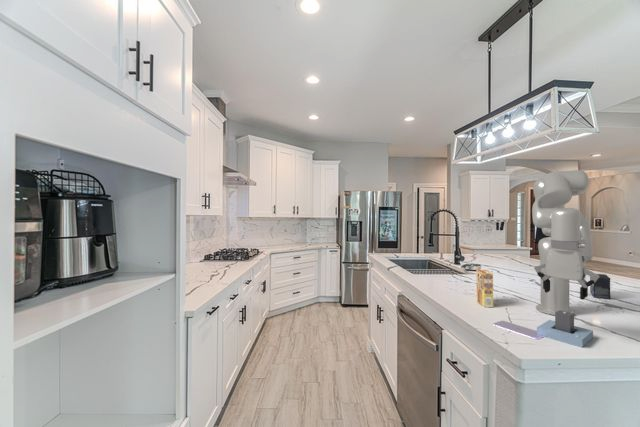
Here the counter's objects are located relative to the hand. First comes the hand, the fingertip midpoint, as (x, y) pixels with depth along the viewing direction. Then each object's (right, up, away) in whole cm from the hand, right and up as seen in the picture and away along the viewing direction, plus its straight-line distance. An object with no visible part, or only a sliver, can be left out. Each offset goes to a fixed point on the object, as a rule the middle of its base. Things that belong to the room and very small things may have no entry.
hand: (564, 295), depth 100 cm
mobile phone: (-13, -14, +5) cm, 20 cm away
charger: (0, -14, -1) cm, 14 cm away
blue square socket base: (0, -14, -1) cm, 14 cm away
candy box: (-9, -14, +34) cm, 37 cm away
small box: (+57, -14, +47) cm, 75 cm away
